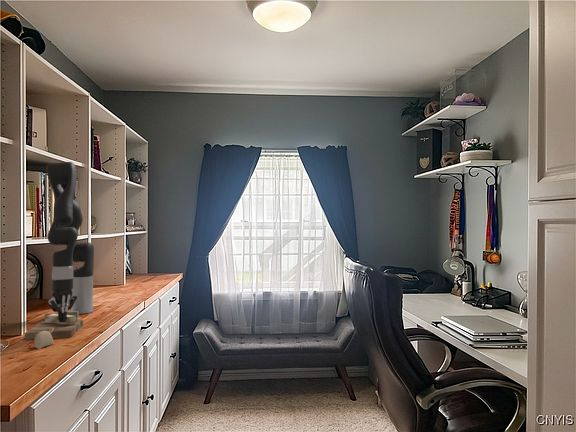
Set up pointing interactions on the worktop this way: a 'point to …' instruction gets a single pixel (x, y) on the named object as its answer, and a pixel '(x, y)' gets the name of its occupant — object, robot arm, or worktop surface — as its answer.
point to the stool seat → (56, 328)
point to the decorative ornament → (43, 339)
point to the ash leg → (54, 319)
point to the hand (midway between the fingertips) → (62, 322)
